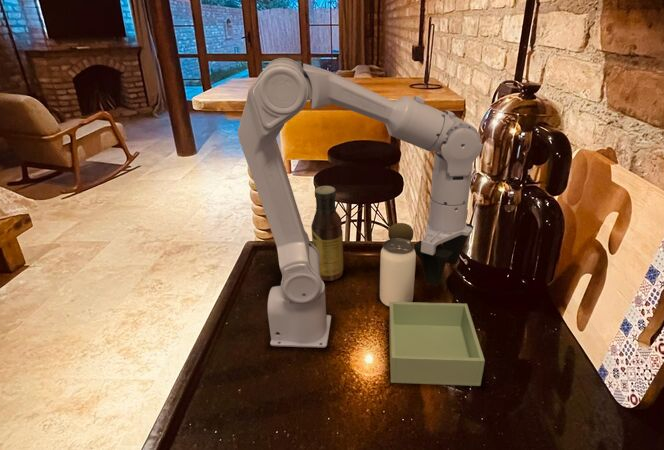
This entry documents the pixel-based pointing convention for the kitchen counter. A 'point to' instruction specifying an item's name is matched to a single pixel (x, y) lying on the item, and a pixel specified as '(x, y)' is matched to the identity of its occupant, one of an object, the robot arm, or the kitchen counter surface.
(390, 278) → the can
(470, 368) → the bin
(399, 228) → the olive game pawn
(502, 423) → the kitchen counter surface
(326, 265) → the sauce bottle
